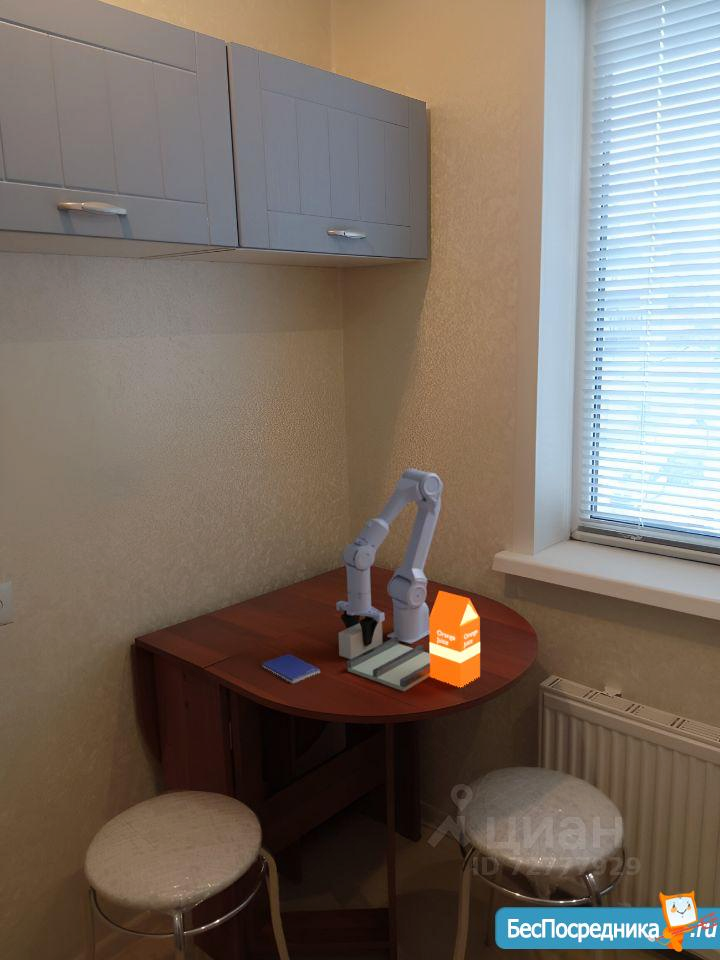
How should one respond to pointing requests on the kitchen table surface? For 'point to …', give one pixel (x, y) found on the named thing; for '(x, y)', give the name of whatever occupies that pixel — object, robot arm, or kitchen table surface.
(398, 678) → the rack
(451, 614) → the orange juice
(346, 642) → the clay bar
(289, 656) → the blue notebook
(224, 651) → the kitchen table surface
